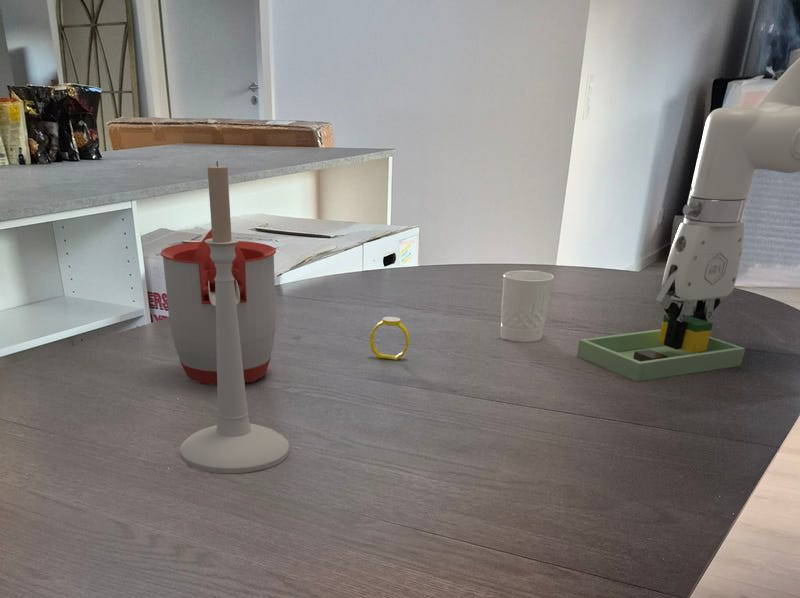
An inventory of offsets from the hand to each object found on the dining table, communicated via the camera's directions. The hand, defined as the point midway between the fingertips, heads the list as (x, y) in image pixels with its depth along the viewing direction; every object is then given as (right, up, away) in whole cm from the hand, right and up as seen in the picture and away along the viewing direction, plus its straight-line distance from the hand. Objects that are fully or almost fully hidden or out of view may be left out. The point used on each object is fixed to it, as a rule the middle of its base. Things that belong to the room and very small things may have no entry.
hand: (682, 344), depth 129 cm
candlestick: (-65, -23, -29) cm, 75 cm away
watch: (-44, -1, +3) cm, 45 cm away
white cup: (-22, +5, +12) cm, 25 cm away
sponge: (0, 0, 0) cm, 0 cm away
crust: (-5, -3, -1) cm, 6 cm away
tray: (-4, -3, 0) cm, 5 cm away
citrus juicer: (-69, -7, -5) cm, 69 cm away
